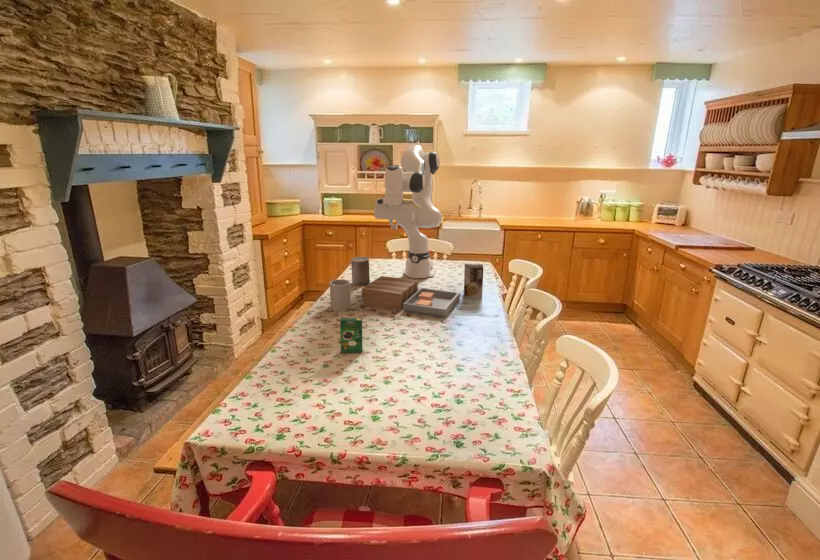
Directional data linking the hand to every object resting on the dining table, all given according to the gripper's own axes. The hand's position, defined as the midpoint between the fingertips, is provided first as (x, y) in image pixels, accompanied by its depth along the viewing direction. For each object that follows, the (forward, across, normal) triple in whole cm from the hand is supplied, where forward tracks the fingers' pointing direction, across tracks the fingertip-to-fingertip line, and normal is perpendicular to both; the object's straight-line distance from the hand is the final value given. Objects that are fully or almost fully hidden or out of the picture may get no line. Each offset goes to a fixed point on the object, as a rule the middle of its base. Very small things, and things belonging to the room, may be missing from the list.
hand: (394, 228), depth 209 cm
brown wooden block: (+33, -3, +12) cm, 35 cm away
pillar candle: (+33, +23, -6) cm, 41 cm away
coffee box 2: (+33, -39, -7) cm, 52 cm away
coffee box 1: (+32, -11, +67) cm, 75 cm away
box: (+33, -24, +12) cm, 43 cm away
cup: (+33, +15, +29) cm, 46 cm away
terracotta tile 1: (+29, -22, +18) cm, 41 cm away
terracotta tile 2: (+29, -20, +7) cm, 36 cm away
